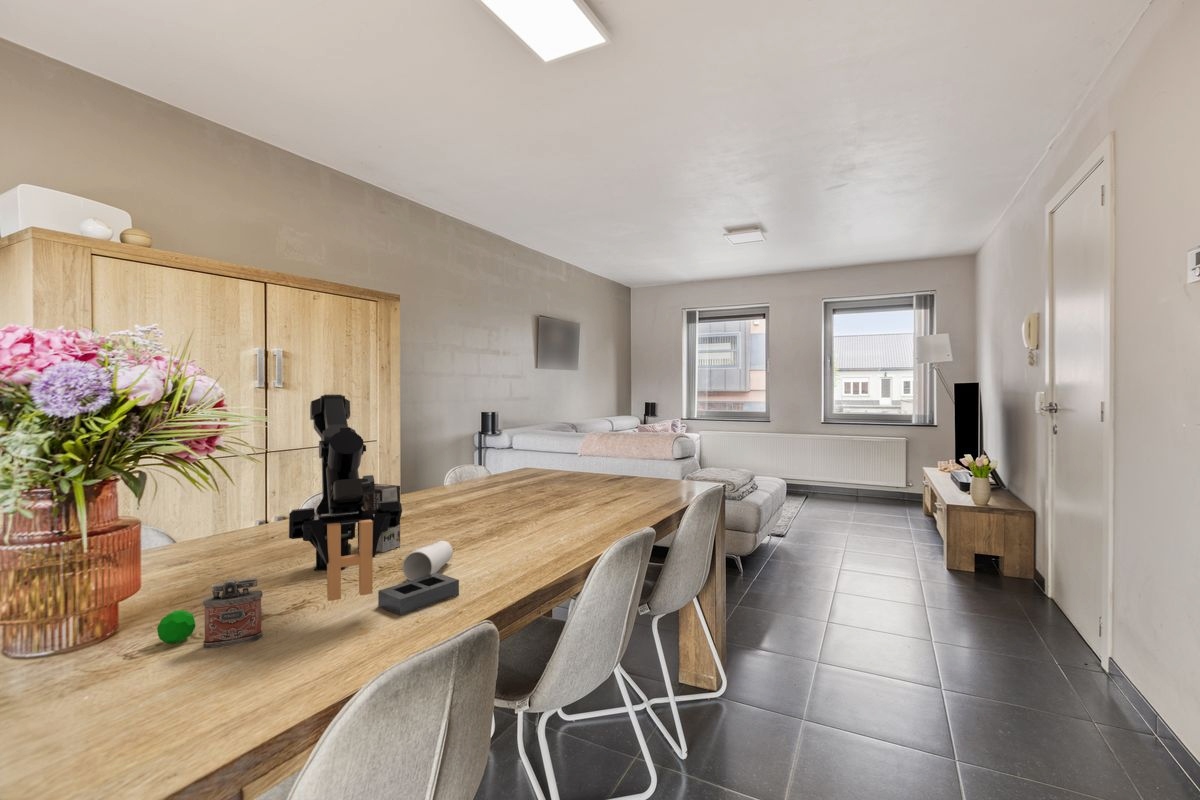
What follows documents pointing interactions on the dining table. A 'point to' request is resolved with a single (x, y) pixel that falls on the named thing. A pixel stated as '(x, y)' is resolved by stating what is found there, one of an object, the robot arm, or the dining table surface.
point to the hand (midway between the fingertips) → (351, 559)
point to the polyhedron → (176, 627)
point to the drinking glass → (426, 560)
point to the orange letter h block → (349, 559)
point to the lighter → (232, 614)
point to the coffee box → (380, 494)
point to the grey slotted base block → (418, 593)
